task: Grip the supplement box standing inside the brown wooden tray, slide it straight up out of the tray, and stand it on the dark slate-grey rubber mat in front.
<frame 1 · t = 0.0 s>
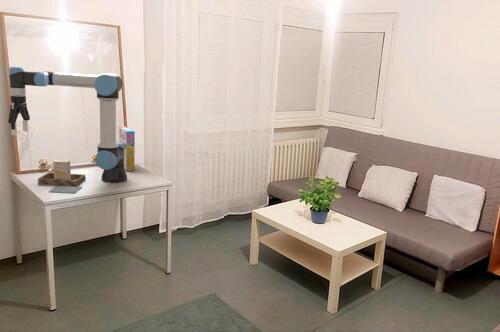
hand: (20, 133, 241), 28 cm above the table, fingers open, 13 cm apart
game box: (126, 168, 293), on the table
supplement box: (62, 182, 250), resting in brown wooden tray
brown wooden tray: (62, 182, 250), on the table
rubber mat: (65, 189, 237), on the table
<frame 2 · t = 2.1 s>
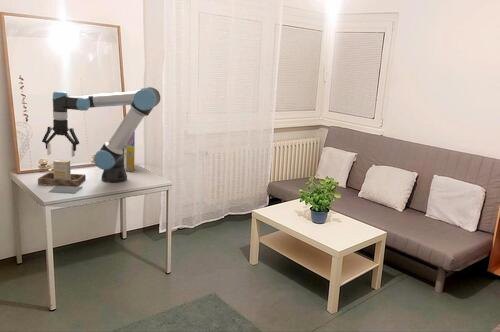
hand: (61, 155, 246), 16 cm above the table, fingers open, 13 cm apart
nothing on the table moved.
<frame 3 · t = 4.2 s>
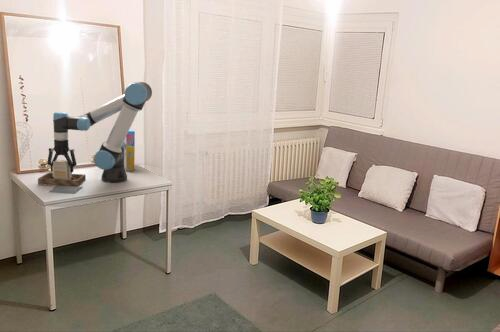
hand: (62, 177, 249), 3 cm above the table, fingers closed on supplement box, 9 cm apart
supplement box: (62, 182, 250), resting in brown wooden tray, touching gripper
everything else where it was.
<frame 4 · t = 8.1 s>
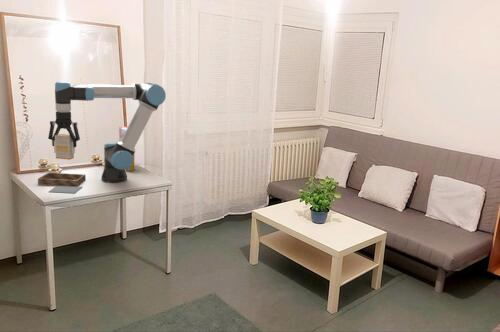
hand: (64, 152, 232), 21 cm above the table, fingers closed on supplement box, 9 cm apart
supplement box: (64, 158, 233), point 18 cm above the table, touching gripper
everything else where it was.
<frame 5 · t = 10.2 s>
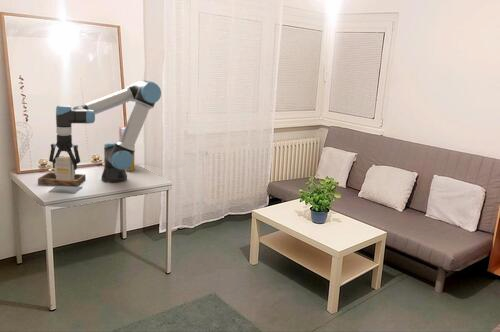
hand: (65, 174, 235), 9 cm above the table, fingers closed on supplement box, 9 cm apart
supplement box: (65, 180, 236), point 5 cm above the table, touching gripper
everything else where it was.
when the fingers open (5 cm above the table, at t = 11.9 s): supplement box drops 1 cm, resting on rubber mat.
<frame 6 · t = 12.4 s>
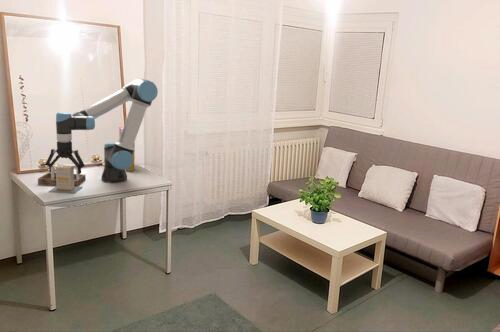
hand: (65, 178, 236), 6 cm above the table, fingers open, 13 cm apart
supplement box: (65, 189, 237), resting on rubber mat
everything else where it was.
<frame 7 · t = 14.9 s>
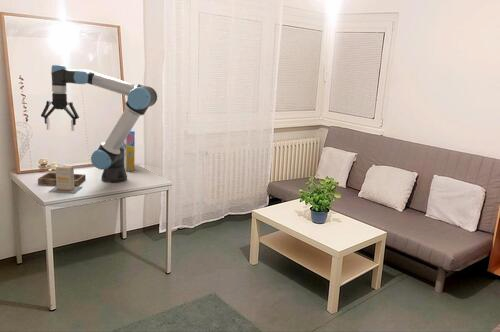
hand: (60, 130, 246), 31 cm above the table, fingers open, 13 cm apart
nothing on the table moved.
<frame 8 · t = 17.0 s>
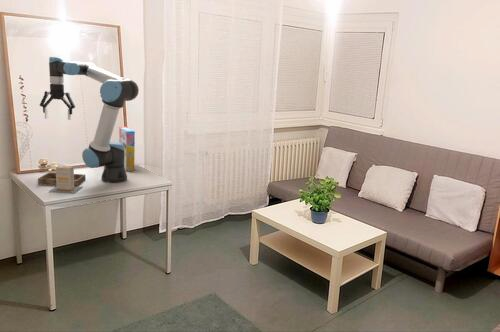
hand: (58, 119, 258), 35 cm above the table, fingers open, 13 cm apart
nothing on the table moved.
at the end: supplement box inside the target area on the rubber mat (0.1 cm from its centre), point 0.2 cm above the rubber mat's base; supplement box tilted 0°; the gripper is holding nothing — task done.
